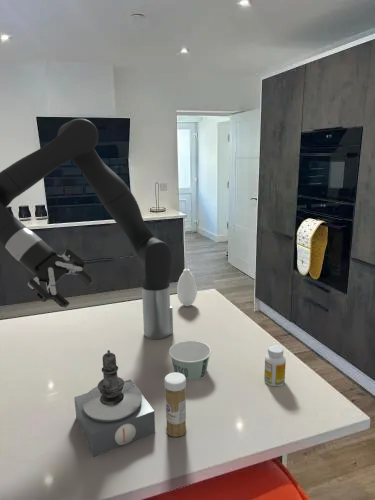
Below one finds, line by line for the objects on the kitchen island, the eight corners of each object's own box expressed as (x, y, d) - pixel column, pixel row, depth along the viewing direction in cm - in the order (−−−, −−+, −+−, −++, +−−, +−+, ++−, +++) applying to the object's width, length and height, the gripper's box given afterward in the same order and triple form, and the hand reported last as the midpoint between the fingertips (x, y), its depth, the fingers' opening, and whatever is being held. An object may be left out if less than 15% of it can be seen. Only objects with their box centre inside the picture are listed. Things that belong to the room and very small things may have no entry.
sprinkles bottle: (162, 431, 84) (160, 378, 81) (175, 420, 88) (174, 369, 84) (177, 441, 81) (176, 386, 78) (190, 429, 85) (190, 376, 81)
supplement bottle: (285, 377, 104) (287, 345, 102) (283, 388, 99) (285, 355, 97) (265, 374, 106) (266, 342, 103) (262, 384, 101) (264, 352, 98)
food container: (218, 366, 110) (218, 345, 108) (199, 388, 100) (199, 366, 98) (182, 356, 116) (181, 336, 114) (161, 376, 105) (160, 355, 104)
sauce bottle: (185, 300, 159) (184, 259, 155) (200, 304, 155) (200, 262, 151) (173, 306, 153) (172, 264, 149) (189, 310, 149) (189, 267, 144)
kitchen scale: (131, 398, 96) (130, 379, 95) (156, 433, 84) (155, 412, 82) (76, 417, 89) (74, 397, 88) (94, 458, 77) (92, 436, 76)
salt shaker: (119, 407, 82) (116, 358, 79) (94, 404, 83) (89, 355, 80) (128, 391, 87) (126, 344, 84) (105, 388, 89) (101, 342, 86)
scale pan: (129, 384, 94) (129, 375, 94) (151, 414, 83) (151, 404, 83) (77, 401, 88) (76, 392, 87) (93, 436, 77) (92, 425, 77)
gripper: (9, 260, 86) (63, 307, 87) (54, 227, 95) (102, 270, 96) (5, 274, 91) (55, 319, 92) (47, 241, 101) (93, 282, 102)
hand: (79, 294), depth 94 cm, fingers open, 8 cm apart
